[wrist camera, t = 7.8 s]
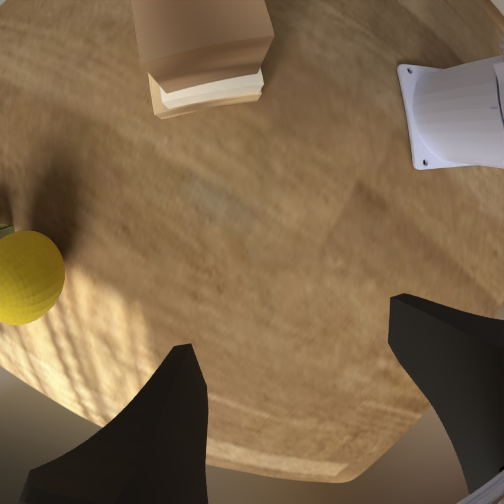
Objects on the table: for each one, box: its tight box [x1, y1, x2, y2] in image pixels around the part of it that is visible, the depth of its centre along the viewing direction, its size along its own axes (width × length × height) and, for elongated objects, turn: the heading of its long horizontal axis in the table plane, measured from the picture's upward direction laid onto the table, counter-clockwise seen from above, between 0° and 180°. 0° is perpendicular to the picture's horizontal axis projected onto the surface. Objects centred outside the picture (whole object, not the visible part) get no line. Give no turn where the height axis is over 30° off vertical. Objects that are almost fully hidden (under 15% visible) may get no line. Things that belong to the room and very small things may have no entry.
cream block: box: [160, 67, 264, 109], centre depth 13 cm, size 5×5×2 cm
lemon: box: [0, 230, 65, 325], centre depth 14 cm, size 6×6×8 cm
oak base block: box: [148, 73, 262, 119], centre depth 15 cm, size 6×6×2 cm
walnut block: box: [131, 0, 275, 94], centre depth 10 cm, size 4×4×5 cm
